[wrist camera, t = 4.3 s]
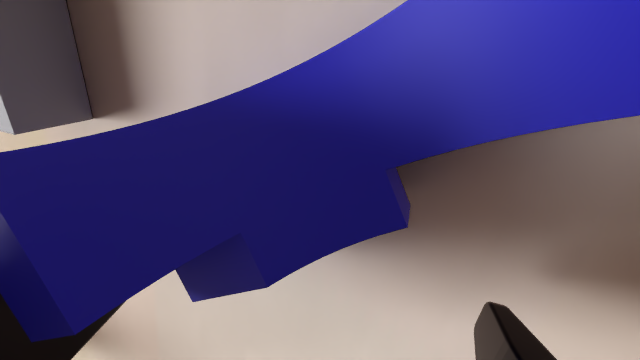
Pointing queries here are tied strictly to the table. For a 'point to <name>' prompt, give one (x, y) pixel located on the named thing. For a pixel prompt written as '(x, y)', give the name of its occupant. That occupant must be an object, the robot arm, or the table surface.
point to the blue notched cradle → (299, 154)
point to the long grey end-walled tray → (39, 67)
